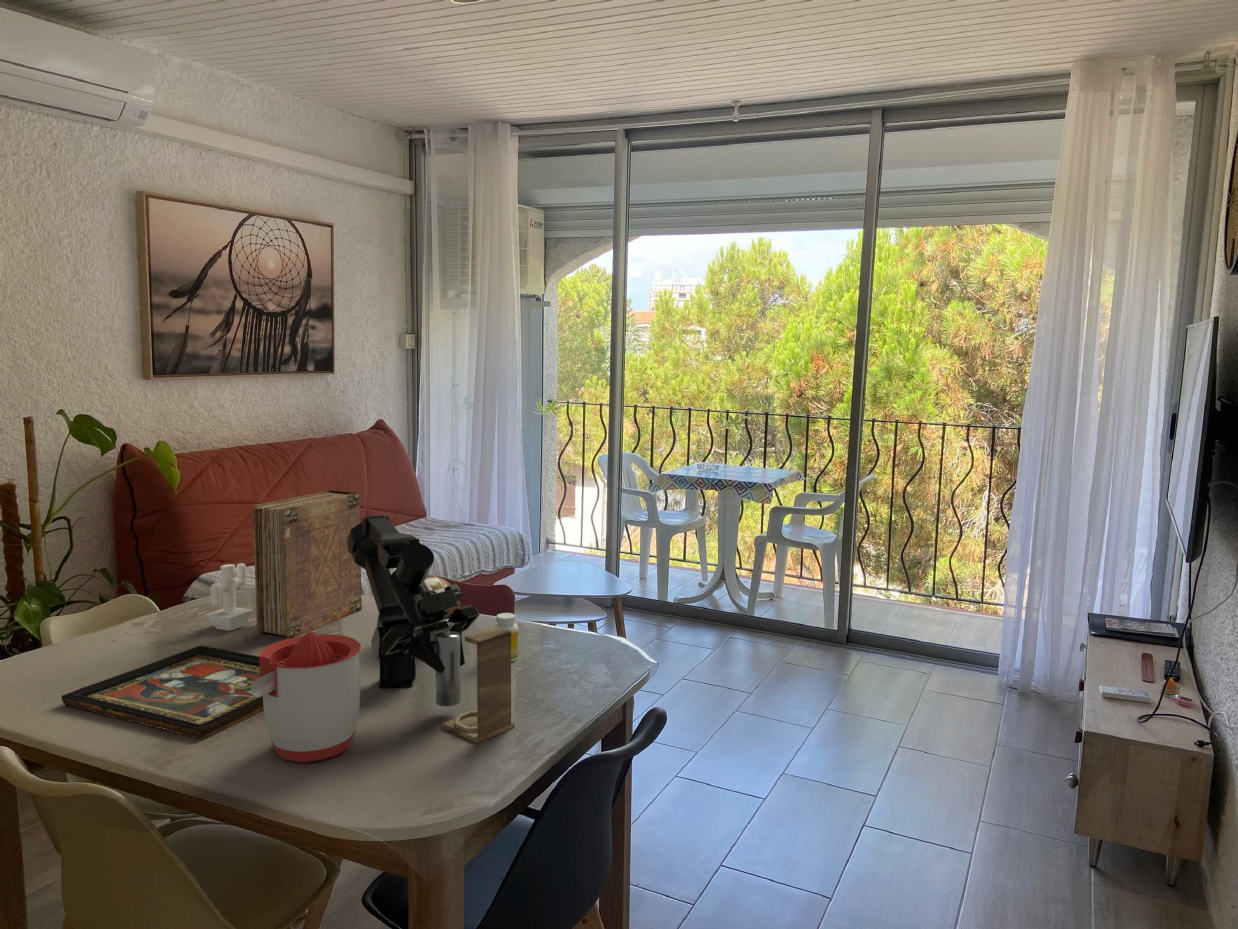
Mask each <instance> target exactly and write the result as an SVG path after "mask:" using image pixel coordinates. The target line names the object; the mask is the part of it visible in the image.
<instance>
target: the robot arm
mask: <svg viewBox="0 0 1238 929" xmlns="http://www.w3.org/2000/svg"><path fill="white" fill-rule="evenodd" d="M347 547H348V552H349V553H351V555H352V557H353V560H354V562H355V563H356V564H358V565H359V566H361V568H363V569H364V570H365V573H366V577H367V580H368V583H369V586H370V589H371V593H372V595H373V599H374V601H375V605H376V608H377V611H378V617H377V620H376V621H377V622H376V627H375V629H374V631H373V635H372V638H371V642H370V643H371V652H372V653H373V654H374V656H376V658H377V659H378V660H379V661H378V662H379V664H378V666H379V682H378V688H380V689H381V688H396V687H397V688H398V687H400V688H401V687H412V686H413V685H414V681H415V680H416V678H417V659H418V660H420V661H421V662H423V663H424V664H425V665H427V666H428V667H430V668H431V669H433V670H434V671H435V670H436V671H437V672H438V673H442V672H443V671H444V669H443V666H442V664H441V661H440V659H439V658H438V656H437V654H436V652H435V647H434V646H433V645H432V642H431V641H430V634H431V633H434V632H437V631H442V632H443V631H455V632H458V633H460V667H463V666H464V665H465V664H466V661H465V655H464V647H463V638H462V634H463V633H462V632H464V631H466V630H469V628H470V627H471V626H472V625H473V623H475V621H476V620H477V619H478V618H479V616H480V613H479V611H478V609H477V608H476V607H475V606H474V605H472V604H467V605H463V606H461V607H460V608H456V609H455V610H454V612H453V613H452V614H451V615H450V616H449V617H448V618H443V616H444V615H446V614H447V613H448V612H449V611H448V608H451V607H456V606H458V602H457V601H460V602H461V601H462V600H463V599H464V595H463V591H462V590H461V588H460V587H459V585H458V584H457V583H454V584H451V585H450V586H448V587H445V591H444V592H440V593H436V592H435V591H434V590H431V591H429V590H428V588H427V586H426V585H425V583H424V581H425V580H426V578H427V575H429V572H430V570H431V568H432V565H433V564H434V562H435V555H434V551H432V549H430V547H428V546H427V545H425V544H422V543H421V542H420V539H419V538H417V537H416V536H415V535H413V534H409V533H401V532H400V531H399V530H398V529H397V528H396V527H395V526H394V524H393V523H392V522H390V518H389V516H388V515H384V514H375V515H374V514H373V515H366V516H365V517H364V516H363V517H362V519H361V522H360V523H359V524H358V525H357V526H355V527H354V528H352V529H351V530H350V533H349V536H348V539H347ZM391 569H395V570H394V571H393V572H391Z"/></svg>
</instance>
